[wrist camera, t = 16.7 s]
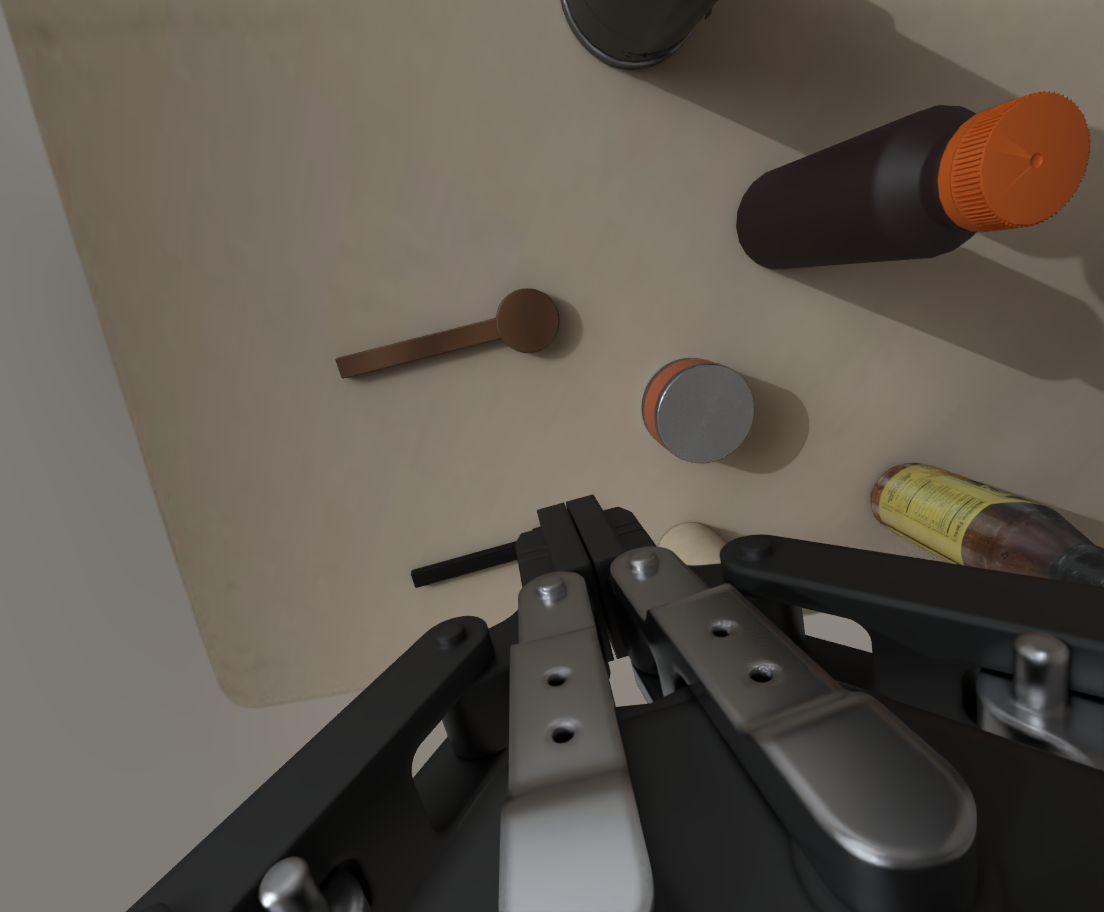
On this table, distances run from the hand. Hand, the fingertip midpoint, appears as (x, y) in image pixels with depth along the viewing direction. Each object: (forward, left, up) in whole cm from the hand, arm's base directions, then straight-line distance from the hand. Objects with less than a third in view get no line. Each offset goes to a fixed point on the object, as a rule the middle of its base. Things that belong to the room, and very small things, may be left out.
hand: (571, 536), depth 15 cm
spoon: (-3, -3, -29) cm, 29 cm away
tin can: (+6, +13, -29) cm, 32 cm away
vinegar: (-6, +22, -29) cm, 37 cm away
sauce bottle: (+18, +30, -29) cm, 46 cm away
